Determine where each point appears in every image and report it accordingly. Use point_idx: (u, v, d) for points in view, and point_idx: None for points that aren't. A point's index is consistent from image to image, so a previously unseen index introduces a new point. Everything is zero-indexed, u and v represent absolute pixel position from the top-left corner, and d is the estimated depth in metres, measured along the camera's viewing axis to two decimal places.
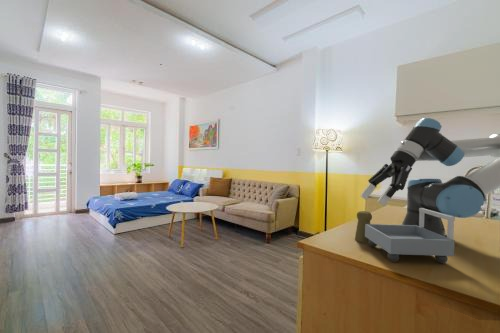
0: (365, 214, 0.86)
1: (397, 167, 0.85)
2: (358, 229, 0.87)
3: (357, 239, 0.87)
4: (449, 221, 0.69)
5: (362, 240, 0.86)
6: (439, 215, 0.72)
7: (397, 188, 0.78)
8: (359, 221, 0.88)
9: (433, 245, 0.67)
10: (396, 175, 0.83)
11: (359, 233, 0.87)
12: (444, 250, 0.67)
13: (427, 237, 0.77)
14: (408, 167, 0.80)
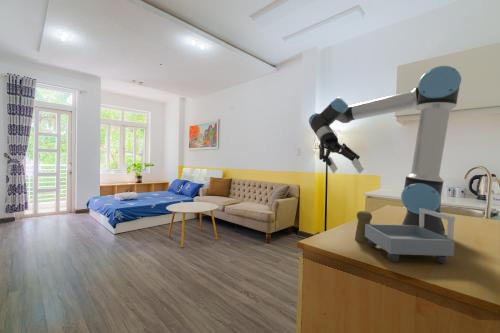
0: (365, 214, 0.86)
1: None
2: (358, 229, 0.87)
3: (357, 239, 0.87)
4: (449, 221, 0.69)
5: (362, 240, 0.86)
6: (439, 215, 0.72)
7: (323, 158, 0.99)
8: (359, 221, 0.88)
9: (433, 245, 0.67)
10: (326, 152, 1.03)
11: (359, 233, 0.87)
12: (444, 250, 0.67)
13: (427, 237, 0.77)
14: (319, 144, 1.05)
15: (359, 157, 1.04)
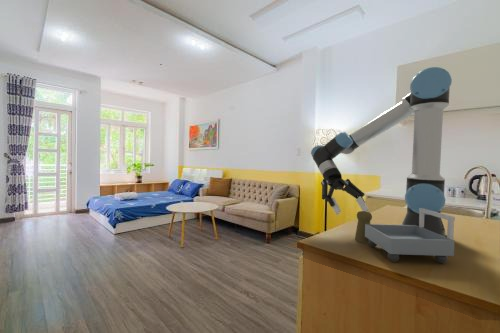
0: (365, 214, 0.86)
1: None
2: (358, 229, 0.87)
3: (357, 239, 0.87)
4: (449, 221, 0.69)
5: (362, 240, 0.86)
6: (439, 215, 0.72)
7: (326, 198, 0.95)
8: (359, 221, 0.88)
9: (433, 245, 0.67)
10: (329, 190, 1.00)
11: (359, 233, 0.87)
12: (444, 250, 0.67)
13: (427, 237, 0.77)
14: (322, 182, 1.01)
15: None
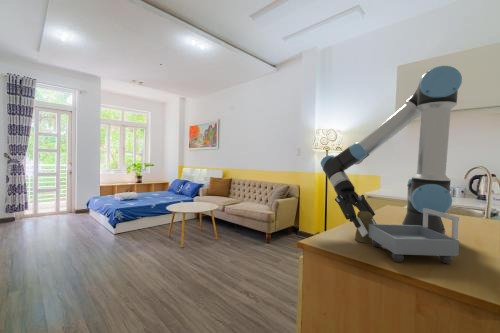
0: (366, 214, 0.86)
1: None
2: None
3: (357, 239, 0.87)
4: (453, 221, 0.69)
5: (362, 240, 0.86)
6: (443, 215, 0.72)
7: (350, 218, 0.88)
8: None
9: (437, 245, 0.67)
10: (347, 207, 0.93)
11: (359, 233, 0.87)
12: (449, 250, 0.67)
13: (431, 237, 0.77)
14: (336, 199, 0.93)
15: (374, 214, 0.90)
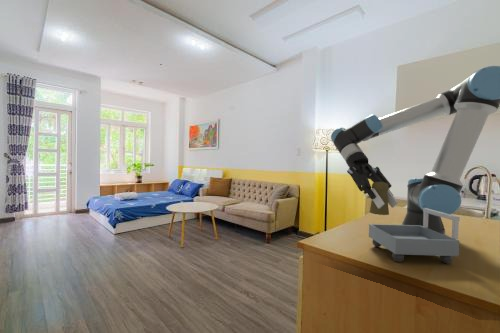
0: (381, 184, 0.80)
1: None
2: None
3: (372, 211, 0.81)
4: (454, 221, 0.69)
5: (378, 212, 0.79)
6: (444, 215, 0.72)
7: (365, 189, 0.81)
8: None
9: (438, 245, 0.67)
10: (361, 178, 0.86)
11: (374, 205, 0.81)
12: (449, 250, 0.67)
13: (431, 237, 0.76)
14: (349, 170, 0.87)
15: (390, 186, 0.84)
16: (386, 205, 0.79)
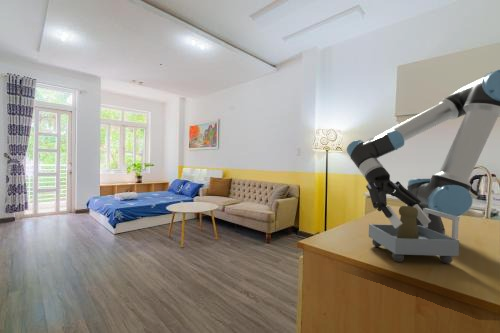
0: (411, 209, 0.73)
1: None
2: (402, 227, 0.75)
3: None
4: (454, 221, 0.69)
5: None
6: (443, 215, 0.72)
7: (379, 206, 0.74)
8: (403, 218, 0.75)
9: (437, 245, 0.67)
10: (379, 195, 0.79)
11: (403, 232, 0.74)
12: (449, 250, 0.67)
13: (431, 237, 0.76)
14: (368, 185, 0.81)
15: (420, 202, 0.79)
16: (416, 232, 0.73)
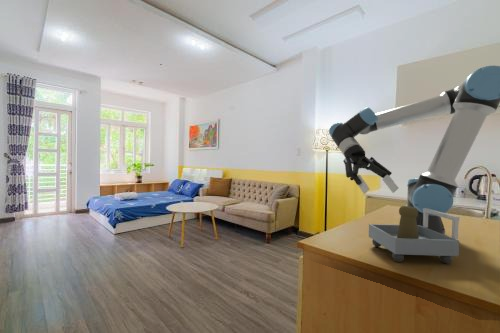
0: (411, 209, 0.73)
1: None
2: (402, 227, 0.75)
3: None
4: (454, 221, 0.69)
5: None
6: (443, 215, 0.72)
7: (351, 175, 0.85)
8: (403, 218, 0.75)
9: (437, 245, 0.67)
10: (353, 168, 0.90)
11: (403, 232, 0.74)
12: (449, 250, 0.67)
13: (431, 237, 0.76)
14: (345, 159, 0.92)
15: (391, 173, 0.91)
16: (416, 232, 0.73)
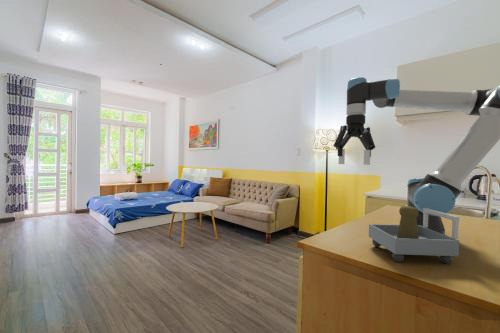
0: (411, 209, 0.73)
1: None
2: (402, 227, 0.75)
3: None
4: (454, 221, 0.69)
5: None
6: (443, 215, 0.72)
7: (337, 147, 0.98)
8: (403, 218, 0.75)
9: (437, 245, 0.67)
10: (345, 137, 1.00)
11: (404, 232, 0.74)
12: (449, 250, 0.67)
13: (431, 237, 0.76)
14: (342, 127, 0.98)
15: None
16: (416, 232, 0.73)
